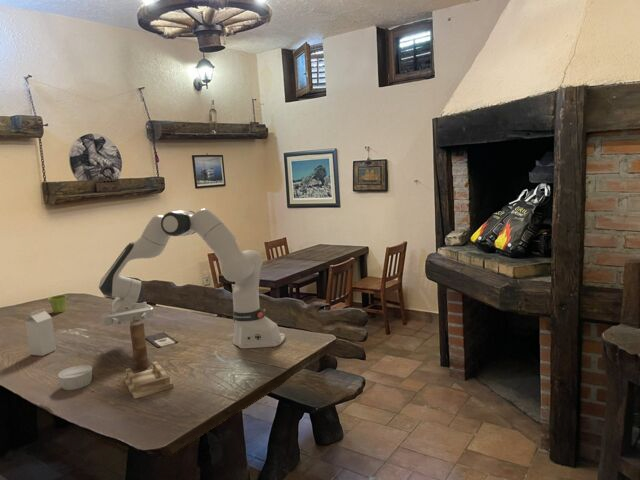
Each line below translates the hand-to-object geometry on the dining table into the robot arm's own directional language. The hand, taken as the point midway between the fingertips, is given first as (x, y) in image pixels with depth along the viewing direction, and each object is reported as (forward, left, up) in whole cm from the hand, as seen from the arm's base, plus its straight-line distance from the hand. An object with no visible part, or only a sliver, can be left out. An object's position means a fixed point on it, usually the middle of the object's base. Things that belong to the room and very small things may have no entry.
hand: (131, 320), depth 190 cm
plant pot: (+89, -65, -16) cm, 111 cm away
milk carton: (+47, -4, -16) cm, 50 cm away
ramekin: (+8, +25, -16) cm, 31 cm away
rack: (-19, +23, -16) cm, 34 cm away
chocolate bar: (0, -20, -17) cm, 26 cm away
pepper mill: (-8, +9, -16) cm, 20 cm away
